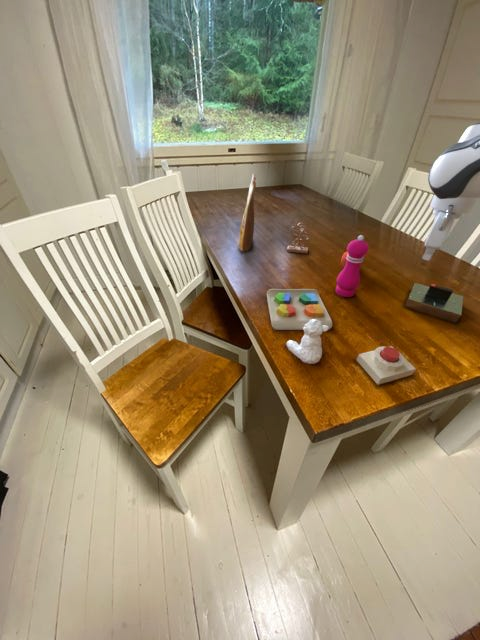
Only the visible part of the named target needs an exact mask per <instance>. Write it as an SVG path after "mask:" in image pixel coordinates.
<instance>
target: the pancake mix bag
mask: <svg viewBox="0 0 480 640" xmlns="http://www.w3.org/2000/svg"><path fill="white" fill-rule="evenodd" d="M256 179H257V175H256V174H255V172H252V177H251V180H250V184H249V188H248V194H247V199H246V204H245V208H244V212H243V216H242V220H241V223H240V229H239V237H238V250H239V251H241V252H243V253H244V252H247V251H249V250H250V249H251V246H252V243H253V239H254V232H255V197H254V196H255V195H254V194H255V190H256V186H257V182H256Z"/></svg>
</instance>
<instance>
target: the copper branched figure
mask: <svg viewBox="0 0 480 640" xmlns="http://www.w3.org/2000/svg"><path fill="white" fill-rule="evenodd" d="M300 224H301V225H300ZM305 229H306V224H305V223H304V222H298V223H297V224H296V226H293V225H292V226H290V232H291V235H293V236H295V238H294V240H293V242H292V243H291V244H290V245H287V248H286V252H291V253H292V252H293V253H301V254H308V253H309V248H308V247H307V246H306V245H305V243H304V240H305V241H308V240H309V239H310V234H309V233H308V231H305ZM293 231H294V232H296V233H294V232H293ZM303 233H306V234H307V235H304V234H303ZM297 234H298V235H297ZM301 234H302V237H301ZM297 236H298V237H297ZM296 240H297V241H298V242H296ZM300 241H301V242H302V244H303V245H301V243H300ZM295 242H296V244H294V243H295Z"/></svg>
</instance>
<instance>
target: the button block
mask: <svg viewBox="0 0 480 640" xmlns="http://www.w3.org/2000/svg"><path fill="white" fill-rule="evenodd" d="M385 347H386V346H385V345H384V346H383V345H382V346H379V347H376V348H375V350H370V351H366V352H362V353H359V354H358V355H357V358H356V362H357V363H358V364H359V365H360V366H361V367H362V369H364V371H365V372H366V373H367V374H368V375H369V376H370V378H371V379H372V380H373V381H374V382H375V384H376V385H378V386H379V385H383V384H386V383H389V382H393V381H396V380H399V379H402V378H406V377H410V376H412V375H413V374H414V373H415V371H416V370H417V368H416V367H415V366H414V365H413V364H412V363H410V362H409V360H407V359H406V358H405V357H404V355H403V354H402V353H401V352H400V351H399V350H397V351H398V352H399V353H400V356H399V358H398V360H397V361H396V362H394V363H391V362H387V361H385V360H384V359H383V358H382V357H381V353H382V351H383V349H384V348H385ZM389 347H392V348H394V347H393V346H392V345H390V346H389Z"/></svg>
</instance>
